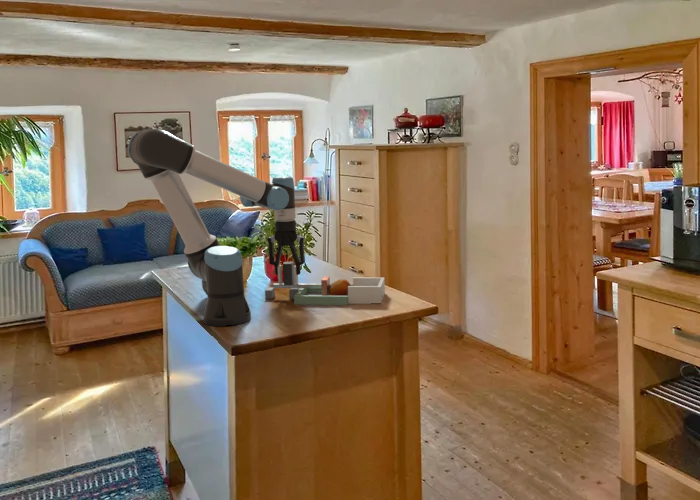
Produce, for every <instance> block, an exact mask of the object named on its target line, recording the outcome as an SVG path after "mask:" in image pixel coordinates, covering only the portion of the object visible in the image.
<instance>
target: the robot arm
mask: <svg viewBox="0 0 700 500" xmlns="http://www.w3.org/2000/svg"><path fill="white" fill-rule="evenodd" d="M127 151H128V156H129V157H130V160H131V161H133V163H134V164H135V165H137V167H138V169H139V170H140V172H141V174H142V177H144V179H145V180H148V181H150V182H151V183H152V185H153V187H154V188H155V190H156V192H157V193H158V197H160V199H161V201H162V203H163V205H164V208H165V209H166V211H167V213H168V215H169V216H170V218H171V220H172V223H173V224H174V226H175V228H176V230H177V232H178V233H179V235H180V238H181V239H182V241H183V243H184V245H185V246H184V249H183V253H184V256H186V257H185V258H186V259H187V266H188V268H189V270H190V272H191V273H192V275H194V276H195V277H196V278H198V279H200V280H201V281H202V280H204V281H206V282H207V294H206V296H207V300H206V303H205V307H204V311H203V314H202V315H203V323H204V324H205V325H207V326H212V327H227V326H226V325H232V326H236V325H241V324H244V323H247V322H248V321H250V320H251V319H252V316H251V315H252V313H251V309H250V307H249V304H248V302H247V299H246V297H245V287H244V270H243V266H244V259H243V257H242V252H241V250H240V249H238V248H237V247H235V246H228V245H221V244H220V242H219V241H218V238H217V237H216V235H213V234H210V233H209V230H208V229H207V227H206V225H205V223H204V221H203V219H202V218H201V217H202V216H201V215H200V213H199V211H198V209H197V207H196V204H195V203H194V201H193V199H192V197H191V195H190V194H189V191H188V188H187V187H186V186H185V184H184V182H183V181H184V180H182V178H181V177H182V176H180V175H183V174H187V175H190V176H192V177H195V178H197V179H199V180H202V181H204V182H206V183H209V184H211V185H213V186H216V187H218V188H220V189H223V190H225V191H228V192H230V193H233V194H235V195H237V196H239V201H240V203H241V205H242V206H243V207H246V208H253V207H258V208H259V207H260V208H266V209H271V210H273V214H274V219H275V221H274V234H273V236H269V237H267V239H266V241H267V242H268V253H269V254H268V255H269V257H268V258H269V262H268V263H269V265H270V266H271V265H272V266H274V273H275V275H276V276H277V279H278V280H277V282H278V284H281V283H283V267H282V265H281V263H280V261H281V257H282V252H283V249H284V247H289V249H290V253H291V254H292V258H293V262H294V264H295V265H294V284H299V275H300V274H301V266H302V265H305V263H306V257H305V254H306V253H305V244H304V243H305V240H306V238H305V236H300V235H298V231H297V222H296V220H295V219H297V218H296V216H297V215H296V203H295V201H296V199H295V198H296V197H295V182H294V177H292V176H289V175H288V176H282V175H281V176H274V177H272V179H271V180H272V181H271V182H266V181H265V180H263V179H260V178H258V177H256V176H254V175H252V174H249V173H247V172H245V171H242V170H240V169H238V168H236V167H233V166H232V165H230V164H227V163H225V162H222V161H221V160H218V159H217V158H214V157H211V156H210V155H208V154H205V153H203V152H201V151H199V150H196V149H195V146H194V145H193V144H192V143H189V142H187V141H185V140H183V139H181V138H179V137H177V136H175V135H174V134H172V133H170V132H169V131H166V130H164V129H160V128H152V129H151V128H150V129H149V128H145V129H142V130H139V131H138V132H136V133H134V134H133V136H131V138H130V139H129V141H128V145H127ZM296 240H297V242H298V246H299V247H298V249H299V255H298V252H297V248H296V245H295V243H296ZM275 241H276V242H277V244H278V245H277V251H276V256H275Z"/></svg>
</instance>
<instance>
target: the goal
mask: <svg viewBox="0 0 700 500" xmlns="http://www.w3.org/2000/svg"><path fill="white" fill-rule="evenodd" d="M385 280H386V279H385V277H384V276H383V277H382V276H381V277H380V276H379V277H378V276H377V277H371V276H370V277H366V276H363V277H362V276H361V277H360V276H359V277H357V276H354V277H352V284H353V286H348V304H352V305H353V304H356V305H357V304H360V305H361V304H363V305H365V304H366V305H367V304H368V305H369V304H370V305H372V304H371V303H381V302H382V303H383V300H384V297H385V294H386V290H385V289H386V287H385V286H386V285H385V283H386V281H385ZM382 303H381V304H382Z"/></svg>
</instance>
